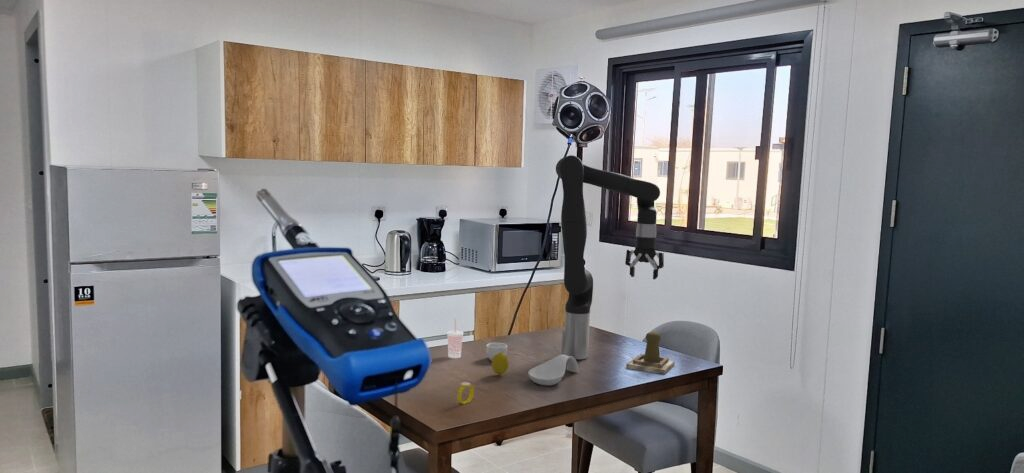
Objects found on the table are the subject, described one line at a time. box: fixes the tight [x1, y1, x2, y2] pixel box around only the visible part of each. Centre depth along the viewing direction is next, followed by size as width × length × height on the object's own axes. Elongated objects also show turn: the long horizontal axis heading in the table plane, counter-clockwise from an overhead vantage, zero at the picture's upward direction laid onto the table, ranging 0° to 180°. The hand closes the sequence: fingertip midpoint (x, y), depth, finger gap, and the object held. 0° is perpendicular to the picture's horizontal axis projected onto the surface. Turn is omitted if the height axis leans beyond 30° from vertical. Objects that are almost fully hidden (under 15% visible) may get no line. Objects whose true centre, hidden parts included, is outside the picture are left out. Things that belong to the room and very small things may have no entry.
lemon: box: [491, 352, 509, 376], centre depth 236 cm, size 6×6×8 cm
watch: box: [456, 381, 475, 405], centre depth 207 cm, size 6×3×6 cm, turn 143°
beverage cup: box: [446, 318, 464, 359], centre depth 257 cm, size 6×6×14 cm
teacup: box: [485, 342, 508, 361], centre depth 256 cm, size 10×8×5 cm
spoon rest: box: [527, 354, 580, 387], centre depth 234 cm, size 24×12×7 cm, turn 146°
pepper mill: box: [644, 331, 661, 363], centre depth 253 cm, size 6×6×11 cm
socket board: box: [625, 353, 675, 375], centre depth 254 cm, size 14×14×3 cm
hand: (643, 278), depth 266 cm, fingers open, 8 cm apart
